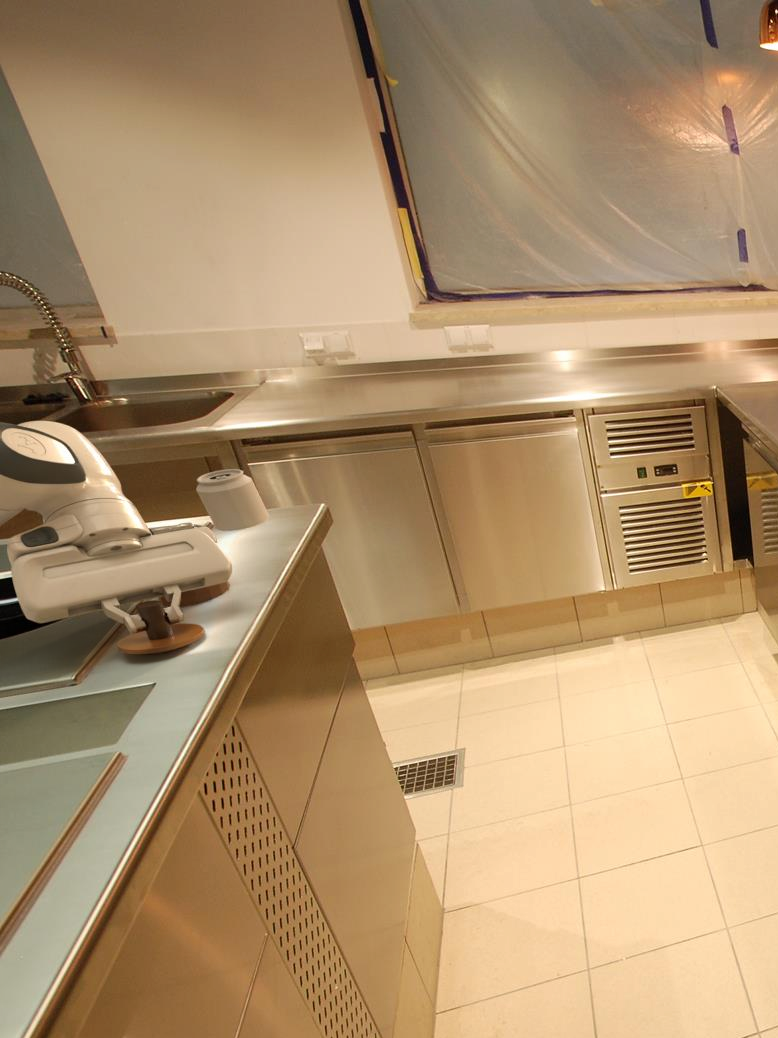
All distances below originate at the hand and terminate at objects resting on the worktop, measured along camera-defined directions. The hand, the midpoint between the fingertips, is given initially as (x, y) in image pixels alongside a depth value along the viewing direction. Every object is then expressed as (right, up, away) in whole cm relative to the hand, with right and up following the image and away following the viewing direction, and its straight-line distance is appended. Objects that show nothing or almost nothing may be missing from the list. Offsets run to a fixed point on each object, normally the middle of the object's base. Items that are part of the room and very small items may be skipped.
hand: (158, 625), depth 107 cm
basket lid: (-1, -2, +1) cm, 2 cm away
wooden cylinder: (-8, +4, +14) cm, 17 cm away
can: (-20, +15, +38) cm, 46 cm away
